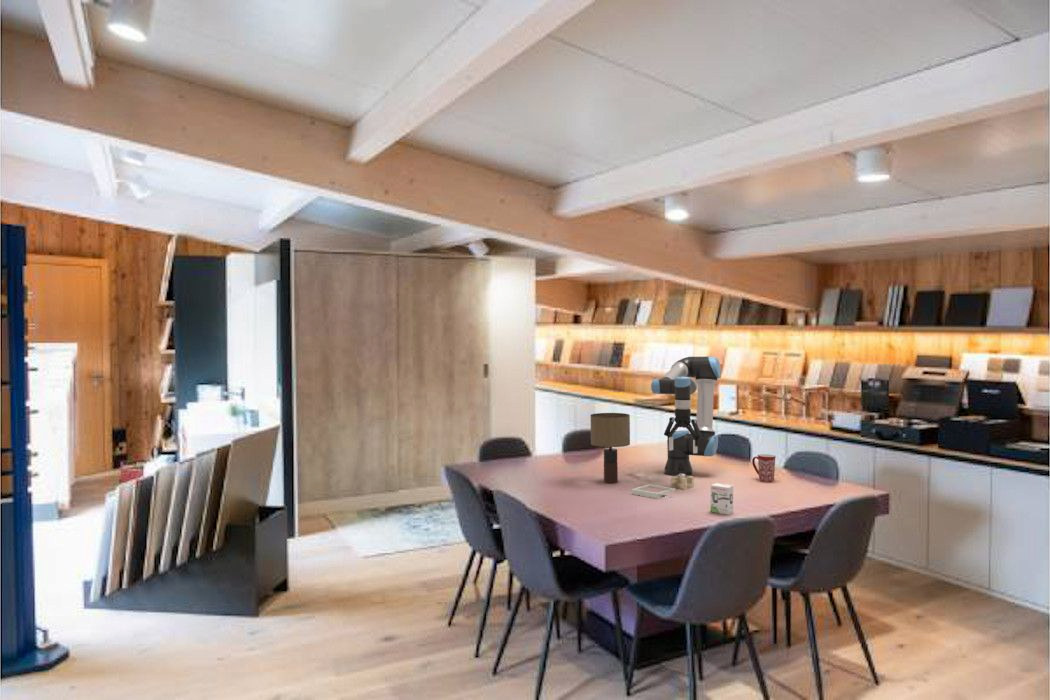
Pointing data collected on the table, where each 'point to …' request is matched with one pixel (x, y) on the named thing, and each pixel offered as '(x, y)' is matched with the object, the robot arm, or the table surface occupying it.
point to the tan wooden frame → (682, 482)
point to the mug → (765, 467)
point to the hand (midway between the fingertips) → (683, 451)
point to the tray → (651, 494)
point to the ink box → (722, 498)
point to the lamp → (610, 439)
